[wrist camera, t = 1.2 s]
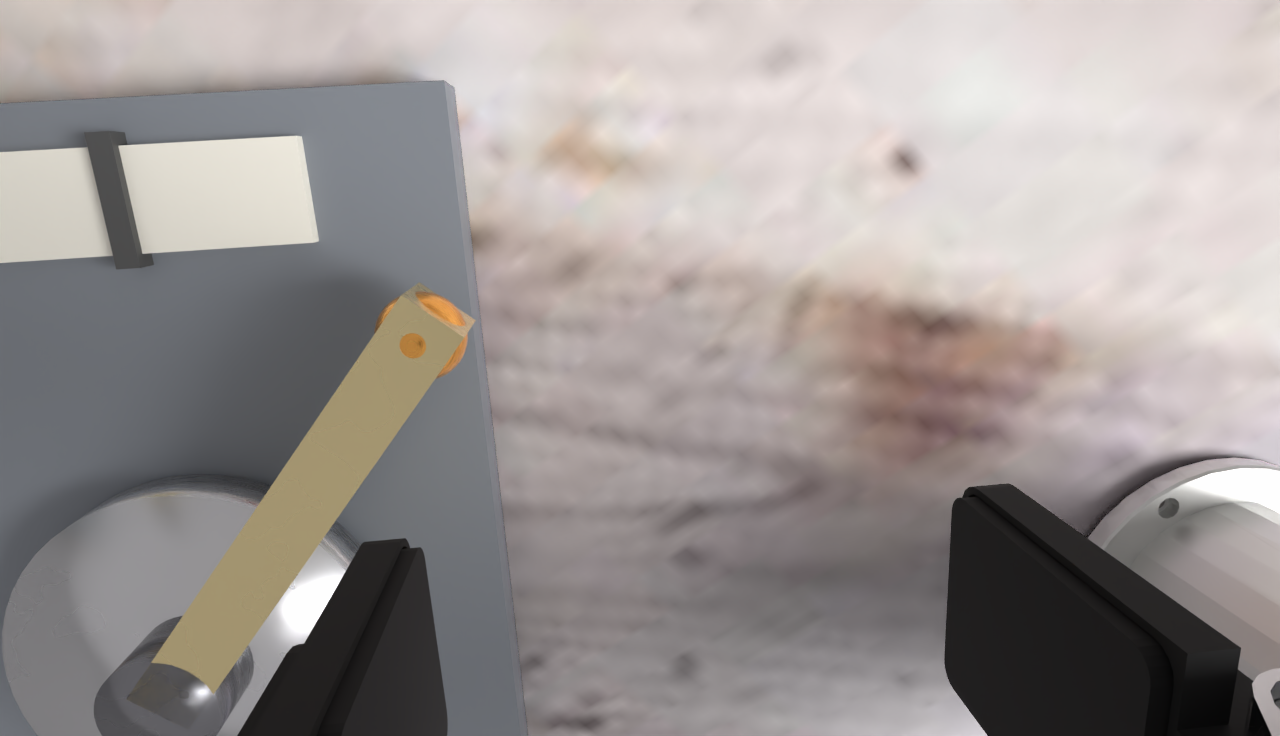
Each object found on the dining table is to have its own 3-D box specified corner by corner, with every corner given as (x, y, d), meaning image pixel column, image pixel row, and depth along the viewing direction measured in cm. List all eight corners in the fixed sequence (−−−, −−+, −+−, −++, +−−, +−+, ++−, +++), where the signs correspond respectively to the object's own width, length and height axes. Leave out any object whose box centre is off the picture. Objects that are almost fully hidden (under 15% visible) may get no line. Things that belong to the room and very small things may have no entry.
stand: (454, 87, 25) (439, 77, 22) (531, 763, 32) (527, 818, 29) (-188, 121, 24) (-286, 114, 21) (35, 819, 31) (-17, 881, 28)
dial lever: (285, 822, 29) (236, 931, 25) (-23, 674, 27) (-135, 768, 22) (611, 387, 26) (618, 429, 22) (296, 171, 23) (235, 170, 19)
